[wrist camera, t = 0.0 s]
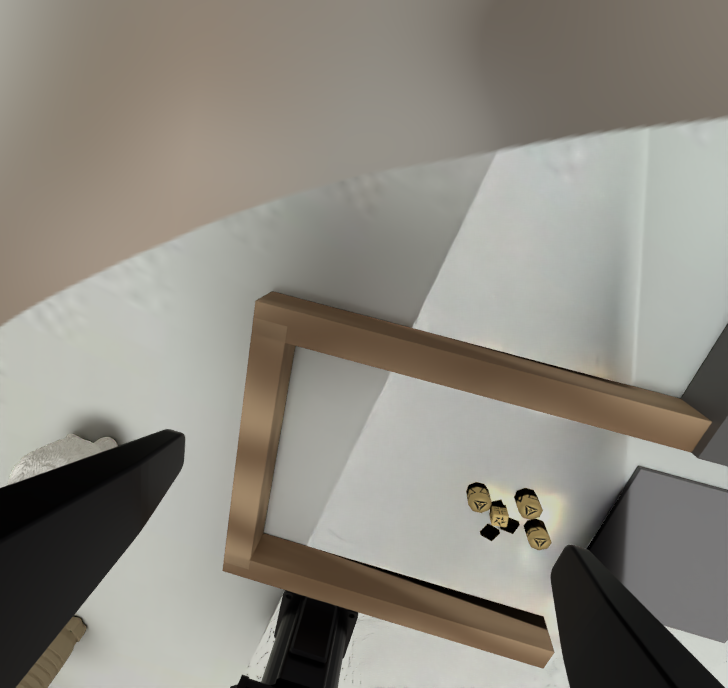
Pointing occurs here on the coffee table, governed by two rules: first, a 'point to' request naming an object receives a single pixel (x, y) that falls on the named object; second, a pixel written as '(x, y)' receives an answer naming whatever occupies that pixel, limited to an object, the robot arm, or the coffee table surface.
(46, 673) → the handle
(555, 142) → the coffee table surface
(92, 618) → the coffee table surface
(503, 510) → the dice set
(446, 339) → the wooden u-frame
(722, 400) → the bin
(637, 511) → the mat
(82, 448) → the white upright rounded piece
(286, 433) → the coffee table surface
